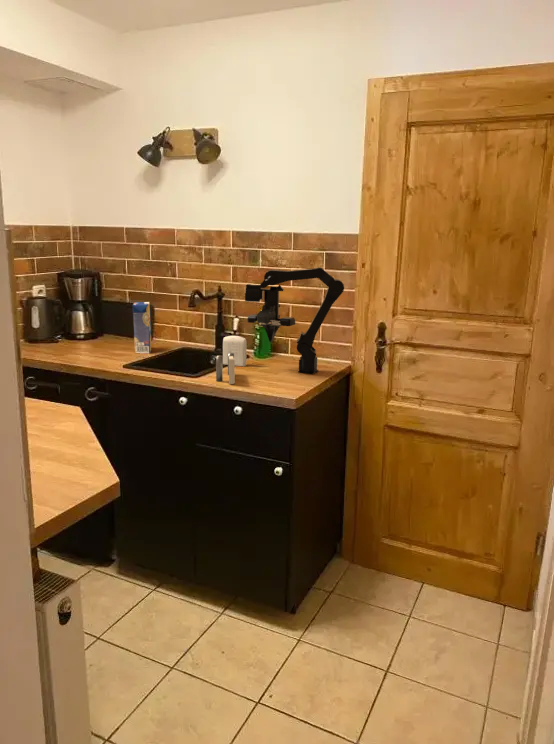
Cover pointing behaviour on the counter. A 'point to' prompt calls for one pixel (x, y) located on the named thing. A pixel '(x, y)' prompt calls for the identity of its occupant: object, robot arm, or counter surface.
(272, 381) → the counter surface
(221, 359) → the post
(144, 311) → the beverage box
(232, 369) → the off-white flat slab
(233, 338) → the photo printer
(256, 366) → the counter surface
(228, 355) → the hinge post
